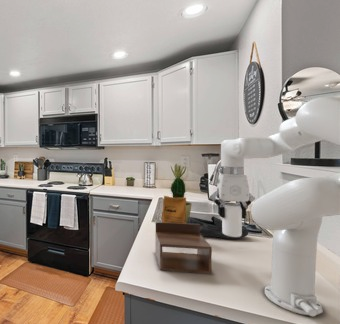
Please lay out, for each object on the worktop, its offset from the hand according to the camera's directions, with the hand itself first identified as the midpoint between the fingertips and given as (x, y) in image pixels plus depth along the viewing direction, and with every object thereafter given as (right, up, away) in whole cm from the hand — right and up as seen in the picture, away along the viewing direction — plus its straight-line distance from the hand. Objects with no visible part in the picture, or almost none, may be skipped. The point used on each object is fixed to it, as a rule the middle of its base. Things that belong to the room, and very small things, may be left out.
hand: (231, 216), depth 87 cm
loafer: (+11, -18, +31) cm, 37 cm away
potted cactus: (-4, -17, +45) cm, 48 cm away
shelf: (-19, -19, +2) cm, 27 cm away
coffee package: (-13, -18, +27) cm, 35 cm away
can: (0, -7, 0) cm, 7 cm away
